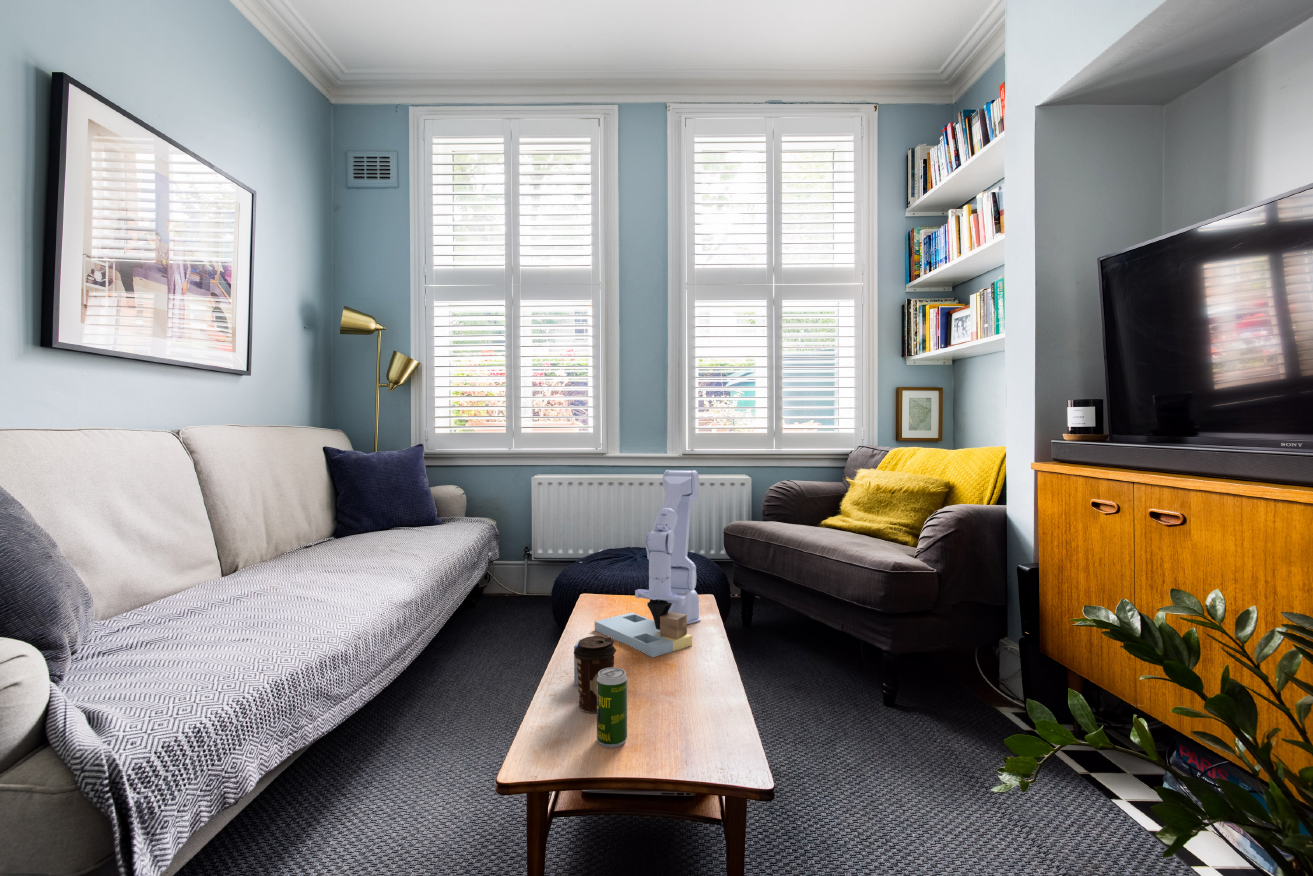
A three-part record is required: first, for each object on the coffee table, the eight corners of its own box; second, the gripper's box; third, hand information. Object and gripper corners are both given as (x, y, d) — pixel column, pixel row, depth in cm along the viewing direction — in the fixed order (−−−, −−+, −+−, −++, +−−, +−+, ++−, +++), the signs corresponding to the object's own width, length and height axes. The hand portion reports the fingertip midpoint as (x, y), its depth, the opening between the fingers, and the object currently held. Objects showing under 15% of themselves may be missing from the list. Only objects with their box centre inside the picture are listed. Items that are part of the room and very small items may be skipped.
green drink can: (611, 730, 107) (611, 664, 107) (633, 739, 103) (633, 672, 103) (590, 741, 103) (590, 673, 103) (612, 752, 99) (612, 681, 99)
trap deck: (632, 620, 171) (632, 612, 171) (692, 645, 150) (692, 635, 150) (594, 630, 162) (594, 621, 162) (652, 657, 142) (652, 647, 142)
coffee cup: (624, 701, 118) (624, 637, 118) (604, 720, 111) (604, 651, 111) (587, 694, 122) (587, 631, 122) (565, 711, 114) (565, 644, 114)
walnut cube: (670, 630, 154) (670, 611, 154) (686, 634, 152) (686, 614, 152) (660, 635, 150) (660, 616, 150) (676, 639, 148) (676, 619, 147)
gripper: (628, 576, 154) (628, 627, 154) (675, 583, 146) (675, 637, 146) (643, 571, 160) (643, 620, 160) (689, 577, 152) (689, 630, 152)
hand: (659, 628), depth 153 cm, fingers closed
